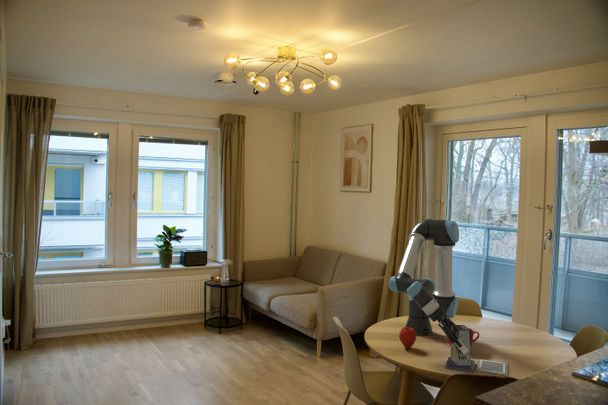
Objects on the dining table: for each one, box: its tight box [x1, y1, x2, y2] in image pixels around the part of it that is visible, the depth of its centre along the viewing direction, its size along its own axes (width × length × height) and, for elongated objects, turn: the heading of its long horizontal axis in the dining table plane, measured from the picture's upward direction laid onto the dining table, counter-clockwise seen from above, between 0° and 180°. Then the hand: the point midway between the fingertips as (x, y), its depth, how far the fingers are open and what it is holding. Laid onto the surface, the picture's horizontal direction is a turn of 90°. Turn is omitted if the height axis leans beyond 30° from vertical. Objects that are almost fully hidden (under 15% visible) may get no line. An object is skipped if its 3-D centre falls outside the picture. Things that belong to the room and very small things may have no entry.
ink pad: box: [445, 356, 476, 373], centre depth 219 cm, size 12×12×2 cm
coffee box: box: [450, 324, 473, 365], centre depth 218 cm, size 9×6×16 cm
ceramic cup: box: [447, 327, 480, 346], centre depth 242 cm, size 13×17×10 cm
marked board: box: [475, 358, 509, 377], centre depth 217 cm, size 13×15×1 cm
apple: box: [398, 326, 417, 349], centre depth 241 cm, size 9×8×11 cm
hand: (467, 348), depth 217 cm, fingers closed on coffee box, 11 cm apart
